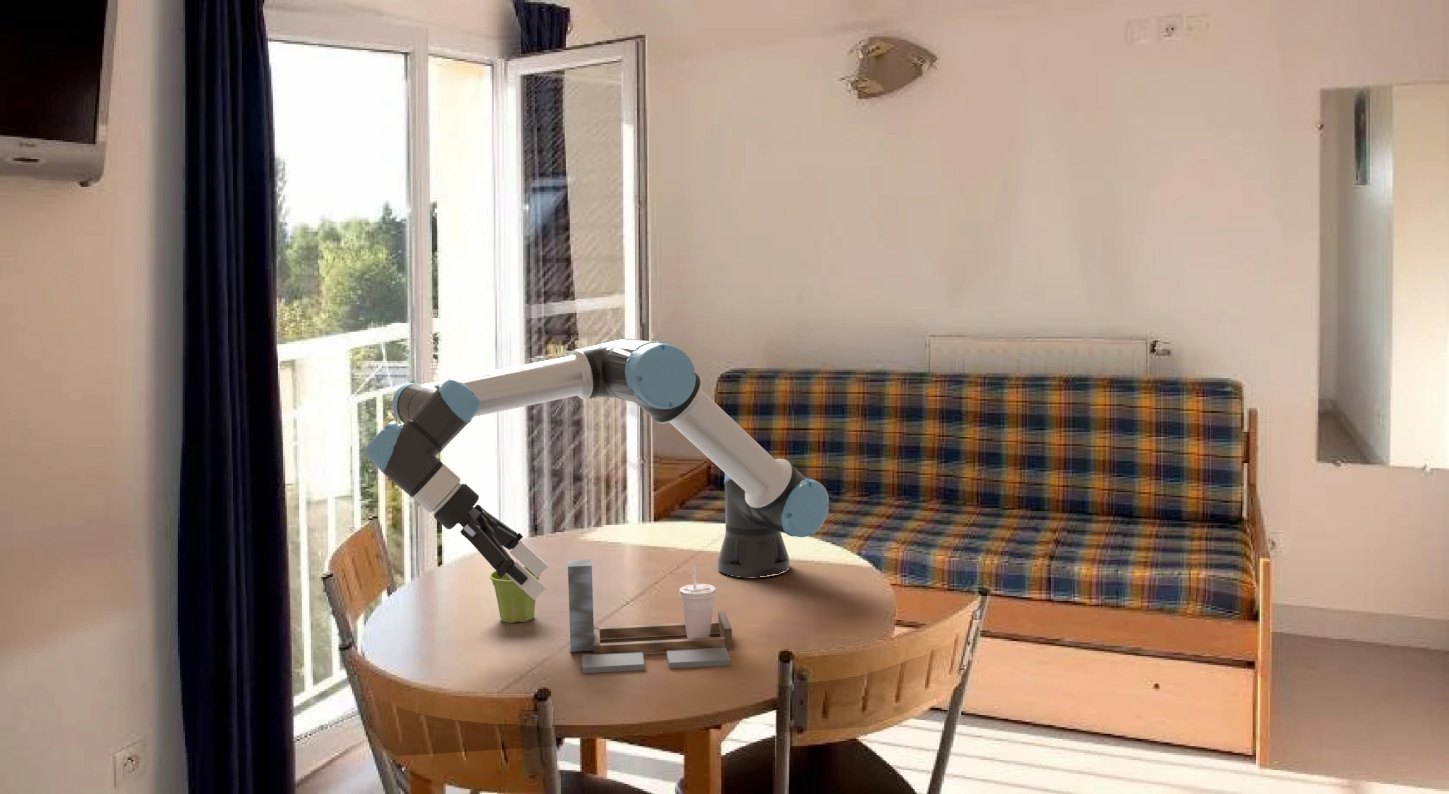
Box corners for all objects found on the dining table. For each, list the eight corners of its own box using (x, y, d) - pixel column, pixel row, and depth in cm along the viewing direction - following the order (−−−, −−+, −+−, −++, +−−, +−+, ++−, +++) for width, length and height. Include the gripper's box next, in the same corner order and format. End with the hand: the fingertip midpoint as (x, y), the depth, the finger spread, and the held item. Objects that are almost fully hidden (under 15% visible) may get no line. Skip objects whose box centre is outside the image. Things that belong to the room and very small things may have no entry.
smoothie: (679, 637, 215) (677, 560, 213) (715, 636, 215) (714, 558, 213) (681, 649, 208) (679, 569, 207) (718, 648, 209) (717, 568, 207)
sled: (725, 630, 217) (723, 549, 215) (732, 649, 207) (730, 564, 206) (570, 638, 214) (568, 556, 212) (570, 657, 204) (567, 571, 202)
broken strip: (725, 653, 206) (725, 647, 206) (730, 665, 200) (729, 659, 200) (582, 660, 204) (582, 655, 204) (582, 673, 198) (582, 667, 198)
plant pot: (519, 629, 220) (517, 583, 219) (480, 621, 225) (478, 575, 224) (553, 615, 228) (551, 570, 227) (514, 608, 233) (513, 564, 232)
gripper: (440, 498, 215) (529, 578, 219) (421, 532, 190) (522, 620, 194) (469, 468, 215) (558, 547, 219) (455, 497, 190) (555, 586, 194)
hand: (541, 582), depth 206 cm, fingers open, 13 cm apart
